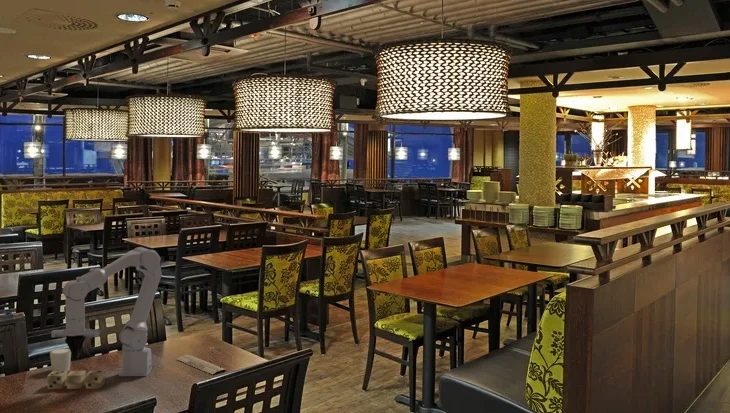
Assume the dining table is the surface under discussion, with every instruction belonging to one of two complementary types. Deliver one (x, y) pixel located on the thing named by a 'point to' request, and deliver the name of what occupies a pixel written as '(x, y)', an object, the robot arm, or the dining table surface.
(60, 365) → the cream short cylinder
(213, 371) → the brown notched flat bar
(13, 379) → the dining table surface
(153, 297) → the robot arm
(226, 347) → the dining table surface
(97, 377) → the dotted block two
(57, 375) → the dotted block three
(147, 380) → the dining table surface
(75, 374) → the plain block
